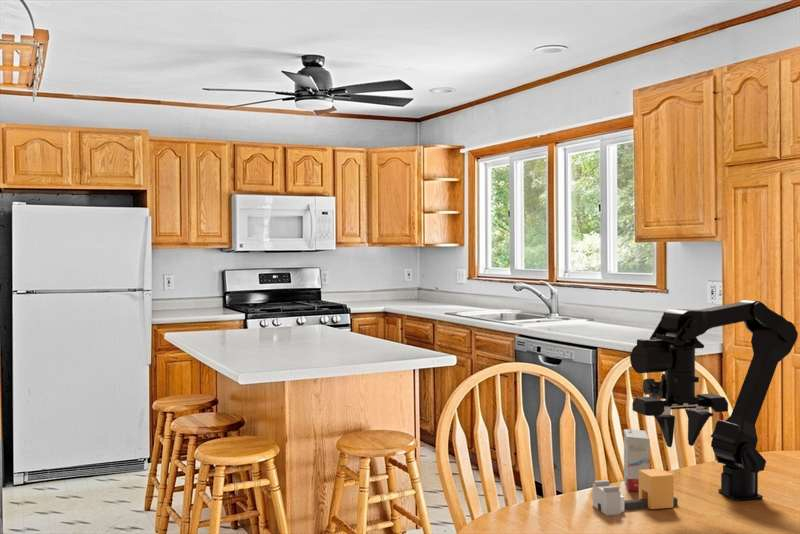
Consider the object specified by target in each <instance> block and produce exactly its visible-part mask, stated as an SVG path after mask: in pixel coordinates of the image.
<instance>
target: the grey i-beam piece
mask: <svg viewBox="0 0 800 534" xmlns="http://www.w3.org/2000/svg"><path fill="white" fill-rule="evenodd" d="M621 495H622V494H621V490H620V486H619V485H610V480H608V479H606V480H605V479H604V480H601V479H600V480H594V481H593V483H592V507H594V508H595V509H597V510H598V508H599V507H601V509H600V511H599V512H601V513H603V514H604V515H605V516H606V517H607V516H617V515H618V516H619V515H621V513H622V512H621ZM598 504H601V506H599V507H598Z"/></svg>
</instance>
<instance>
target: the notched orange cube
mask: <svg viewBox="0 0 800 534" xmlns="http://www.w3.org/2000/svg"><path fill="white" fill-rule="evenodd" d="M673 497H674V474H673V473H670V472H668V471H666V470H664V469H662V468H650V469H645V470H639V491H638V499H648V508H647V509H650V510H658V509H670V508H674V506H673Z"/></svg>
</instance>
